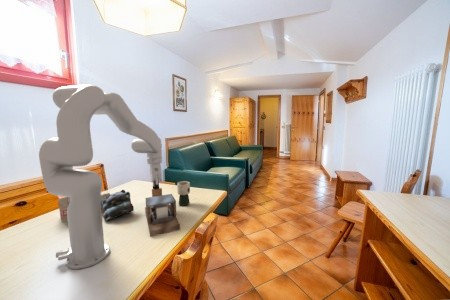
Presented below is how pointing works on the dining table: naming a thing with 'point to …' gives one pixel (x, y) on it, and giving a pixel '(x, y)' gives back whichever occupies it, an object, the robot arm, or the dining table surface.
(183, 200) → the character mug
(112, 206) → the lucky cat figurine
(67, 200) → the stack of blocks
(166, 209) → the block
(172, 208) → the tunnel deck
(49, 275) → the dining table surface
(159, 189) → the sled
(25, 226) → the dining table surface
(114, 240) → the dining table surface
